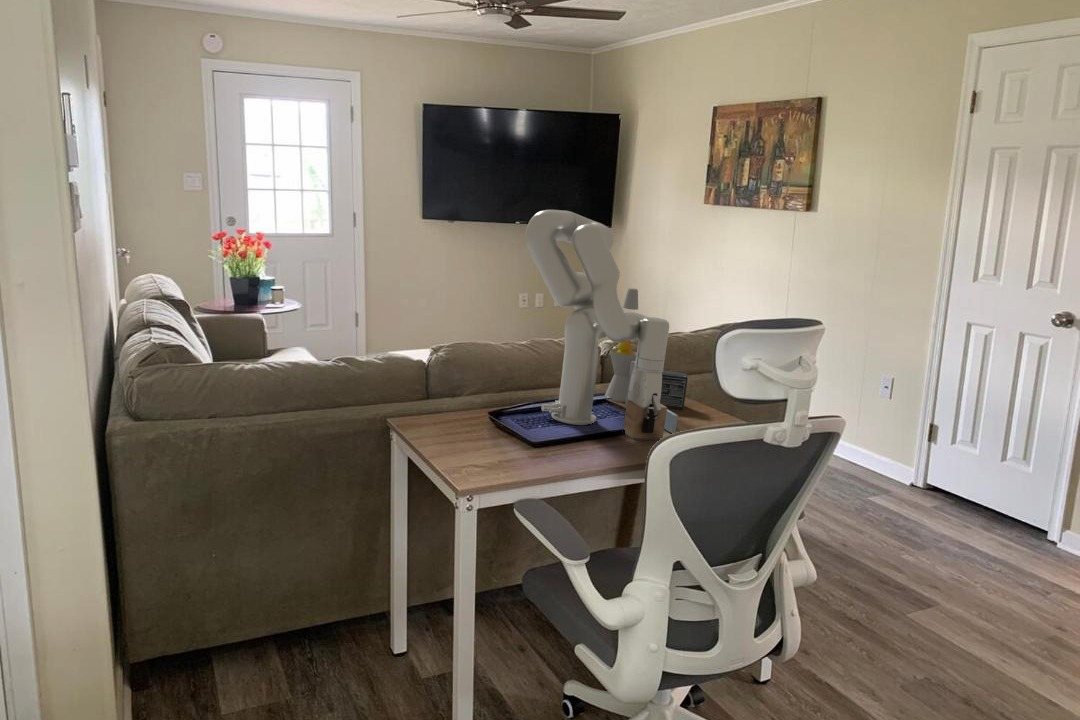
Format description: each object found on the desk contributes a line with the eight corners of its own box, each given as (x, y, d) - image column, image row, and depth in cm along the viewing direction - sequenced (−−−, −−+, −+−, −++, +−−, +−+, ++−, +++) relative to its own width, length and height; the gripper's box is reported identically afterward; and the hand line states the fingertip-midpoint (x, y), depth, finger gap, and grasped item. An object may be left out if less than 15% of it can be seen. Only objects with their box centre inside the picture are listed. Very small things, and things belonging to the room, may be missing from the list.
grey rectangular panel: (640, 415, 239) (647, 362, 236) (624, 405, 249) (631, 354, 245) (646, 415, 240) (653, 363, 237) (630, 405, 249) (637, 354, 246)
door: (671, 433, 223) (674, 415, 222) (645, 416, 237) (648, 399, 236) (678, 432, 224) (681, 415, 223) (652, 416, 238) (655, 399, 237)
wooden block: (632, 439, 215) (637, 407, 213) (622, 432, 220) (627, 400, 219) (662, 439, 218) (667, 407, 216) (651, 432, 224) (656, 401, 222)
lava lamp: (609, 392, 263) (623, 285, 255) (635, 397, 259) (651, 289, 252) (600, 397, 255) (614, 287, 247) (627, 403, 251) (642, 291, 244)
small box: (682, 404, 257) (687, 372, 255) (683, 410, 251) (688, 377, 249) (649, 400, 258) (653, 368, 256) (649, 405, 252) (654, 373, 250)
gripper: (622, 356, 221) (613, 418, 225) (652, 372, 206) (643, 438, 209) (646, 356, 224) (637, 418, 228) (678, 372, 208) (668, 438, 212)
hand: (640, 427), depth 219 cm, fingers open, 7 cm apart
